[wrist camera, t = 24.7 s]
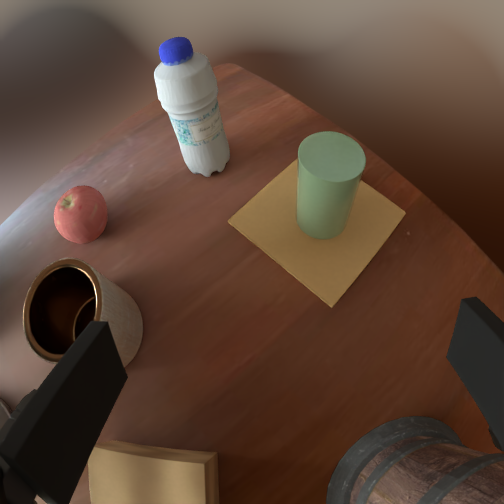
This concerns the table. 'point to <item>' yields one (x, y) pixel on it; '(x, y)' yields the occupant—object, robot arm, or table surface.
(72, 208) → the apple
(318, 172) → the canister
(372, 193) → the cork mat
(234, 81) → the table surface
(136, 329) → the planter
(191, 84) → the bottle
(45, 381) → the robot arm
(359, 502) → the tankard
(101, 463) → the plate
